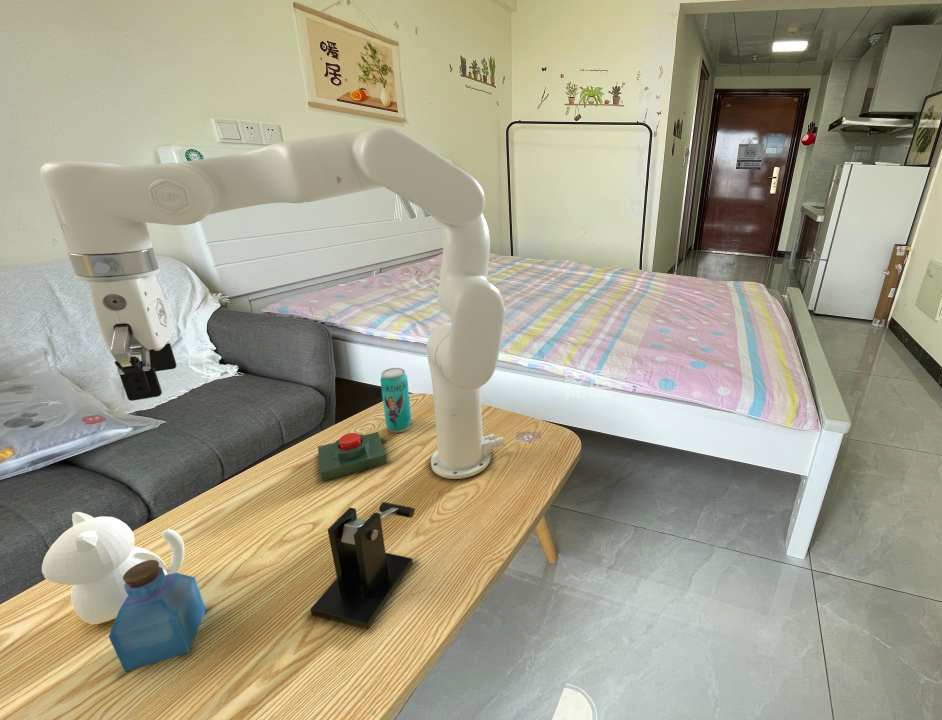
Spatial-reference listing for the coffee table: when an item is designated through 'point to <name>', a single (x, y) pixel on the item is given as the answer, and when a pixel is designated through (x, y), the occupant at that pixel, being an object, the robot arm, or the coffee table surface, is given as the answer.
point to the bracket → (360, 574)
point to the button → (349, 441)
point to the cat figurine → (101, 563)
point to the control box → (351, 457)
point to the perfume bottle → (156, 616)
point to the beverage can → (396, 399)
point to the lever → (387, 513)
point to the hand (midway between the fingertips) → (154, 382)
